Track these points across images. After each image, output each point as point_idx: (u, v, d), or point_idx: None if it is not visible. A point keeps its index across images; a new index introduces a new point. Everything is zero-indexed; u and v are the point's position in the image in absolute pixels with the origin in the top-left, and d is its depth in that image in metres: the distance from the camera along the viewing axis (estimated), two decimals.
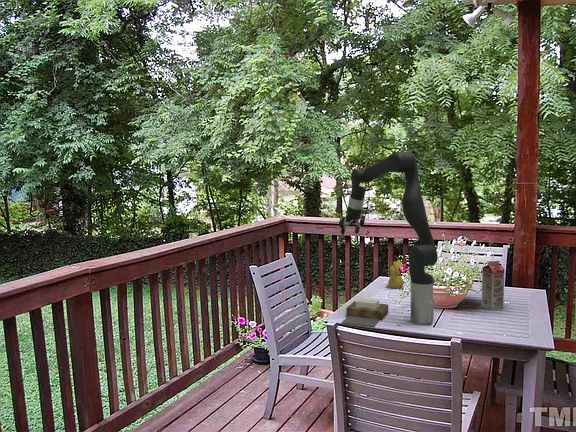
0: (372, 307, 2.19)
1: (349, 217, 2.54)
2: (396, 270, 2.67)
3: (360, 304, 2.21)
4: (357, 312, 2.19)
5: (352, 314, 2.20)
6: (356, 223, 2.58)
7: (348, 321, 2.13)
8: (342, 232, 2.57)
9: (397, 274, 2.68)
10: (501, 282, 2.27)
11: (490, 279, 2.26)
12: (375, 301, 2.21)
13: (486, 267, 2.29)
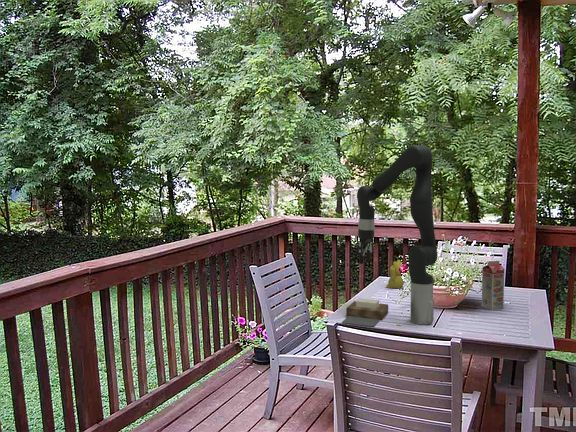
0: (372, 307, 2.19)
1: (365, 241, 2.30)
2: (396, 270, 2.67)
3: (360, 304, 2.21)
4: (357, 312, 2.19)
5: (352, 314, 2.20)
6: None
7: (348, 321, 2.13)
8: (362, 260, 2.29)
9: (397, 274, 2.68)
10: (501, 282, 2.27)
11: (490, 279, 2.26)
12: (375, 301, 2.21)
13: (486, 267, 2.29)
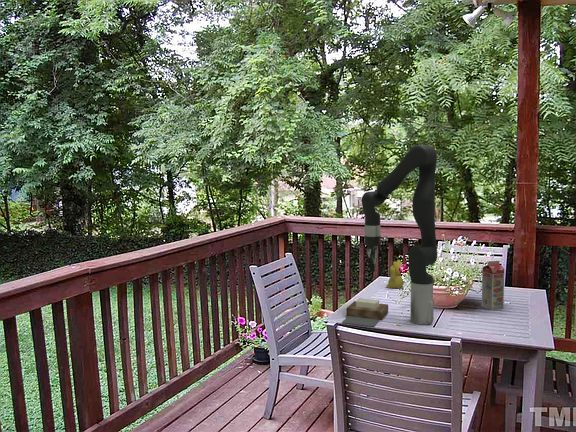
0: (372, 307, 2.19)
1: (372, 248, 2.24)
2: (396, 270, 2.67)
3: (360, 304, 2.21)
4: (357, 312, 2.19)
5: (352, 314, 2.20)
6: None
7: (348, 321, 2.13)
8: (373, 269, 2.27)
9: (397, 274, 2.68)
10: (501, 282, 2.27)
11: (490, 279, 2.26)
12: (375, 301, 2.21)
13: (486, 267, 2.29)
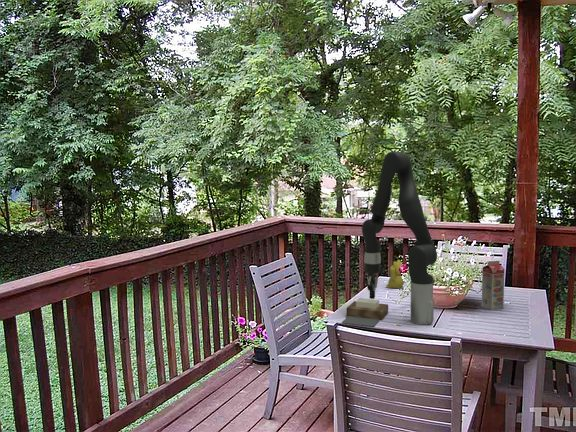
0: (372, 307, 2.19)
1: (372, 276, 2.26)
2: (396, 270, 2.67)
3: (360, 304, 2.21)
4: (357, 312, 2.19)
5: (352, 314, 2.20)
6: None
7: (348, 321, 2.13)
8: (373, 295, 2.29)
9: (397, 274, 2.68)
10: (501, 282, 2.27)
11: (490, 279, 2.26)
12: (375, 301, 2.21)
13: (486, 267, 2.29)
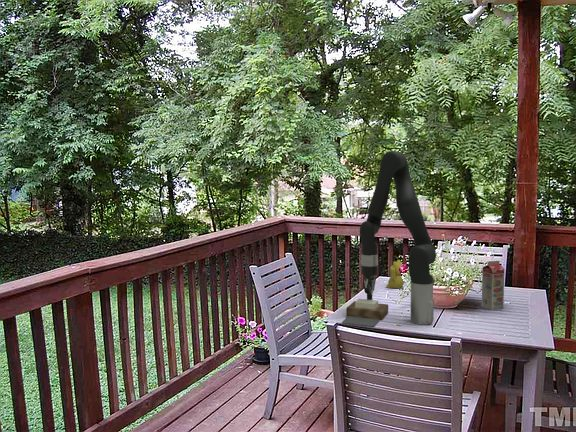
0: (371, 308, 2.18)
1: (369, 278, 2.21)
2: (396, 270, 2.67)
3: (359, 305, 2.20)
4: (357, 312, 2.19)
5: (352, 314, 2.20)
6: None
7: (348, 321, 2.13)
8: (370, 299, 2.24)
9: (397, 274, 2.68)
10: (501, 282, 2.27)
11: (490, 279, 2.26)
12: (374, 302, 2.20)
13: (486, 267, 2.29)
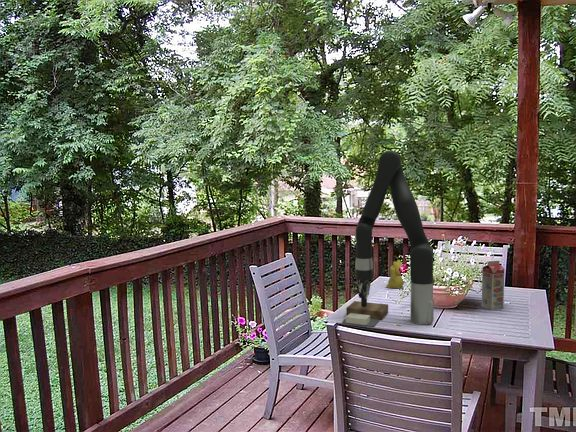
0: None
1: (364, 283, 2.13)
2: (396, 270, 2.67)
3: None
4: (357, 312, 2.19)
5: None
6: None
7: None
8: (364, 304, 2.16)
9: (397, 274, 2.68)
10: (501, 282, 2.27)
11: (490, 279, 2.26)
12: None
13: (486, 267, 2.29)
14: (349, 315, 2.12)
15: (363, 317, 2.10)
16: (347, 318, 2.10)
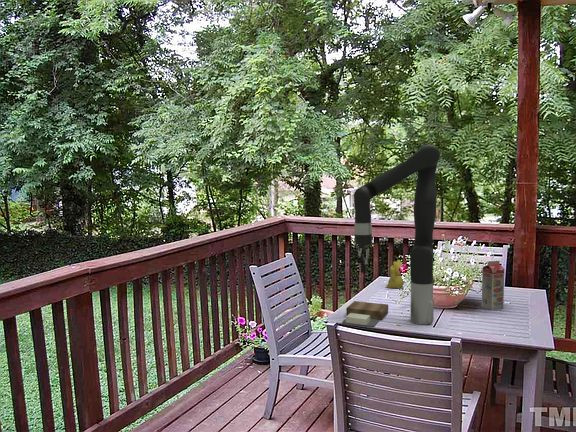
0: None
1: (363, 248, 2.11)
2: (396, 270, 2.67)
3: None
4: (357, 312, 2.19)
5: None
6: None
7: None
8: (364, 269, 2.14)
9: (397, 274, 2.68)
10: (501, 282, 2.27)
11: (490, 279, 2.26)
12: None
13: (486, 267, 2.29)
14: (349, 315, 2.12)
15: (363, 317, 2.10)
16: (347, 318, 2.10)
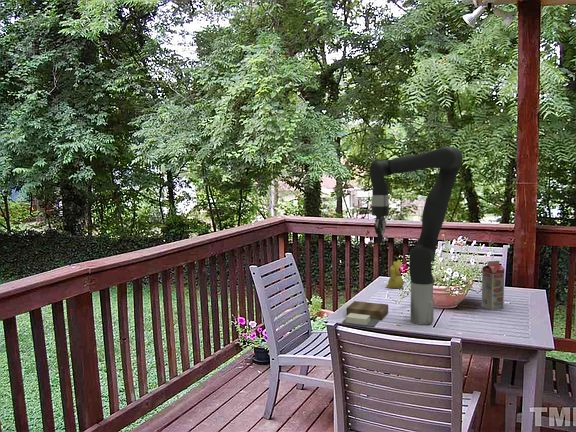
0: None
1: (380, 218, 2.20)
2: (396, 270, 2.67)
3: None
4: (357, 312, 2.19)
5: None
6: None
7: None
8: (381, 240, 2.23)
9: (397, 274, 2.68)
10: (501, 282, 2.27)
11: (490, 279, 2.26)
12: None
13: (486, 267, 2.29)
14: (349, 315, 2.12)
15: (363, 317, 2.10)
16: (347, 318, 2.10)
